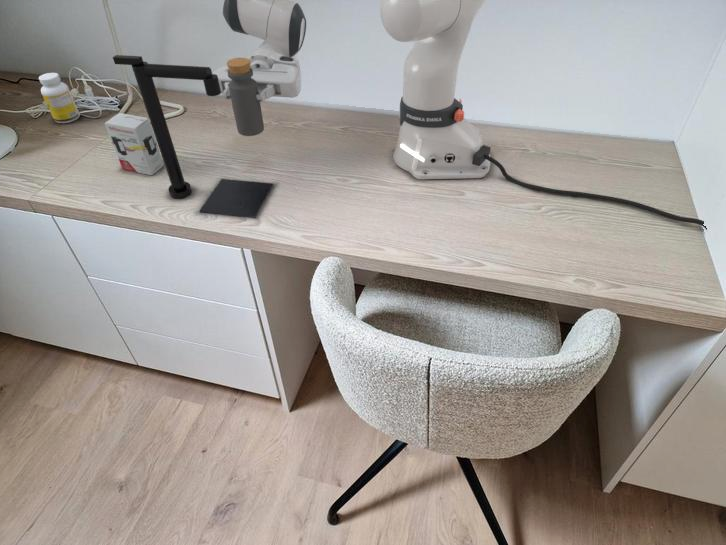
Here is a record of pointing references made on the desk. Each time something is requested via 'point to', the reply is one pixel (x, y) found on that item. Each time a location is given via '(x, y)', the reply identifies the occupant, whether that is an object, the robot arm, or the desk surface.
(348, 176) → the desk surface
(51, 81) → the pill bottle
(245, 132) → the bottle
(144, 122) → the ink box
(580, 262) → the desk surface
